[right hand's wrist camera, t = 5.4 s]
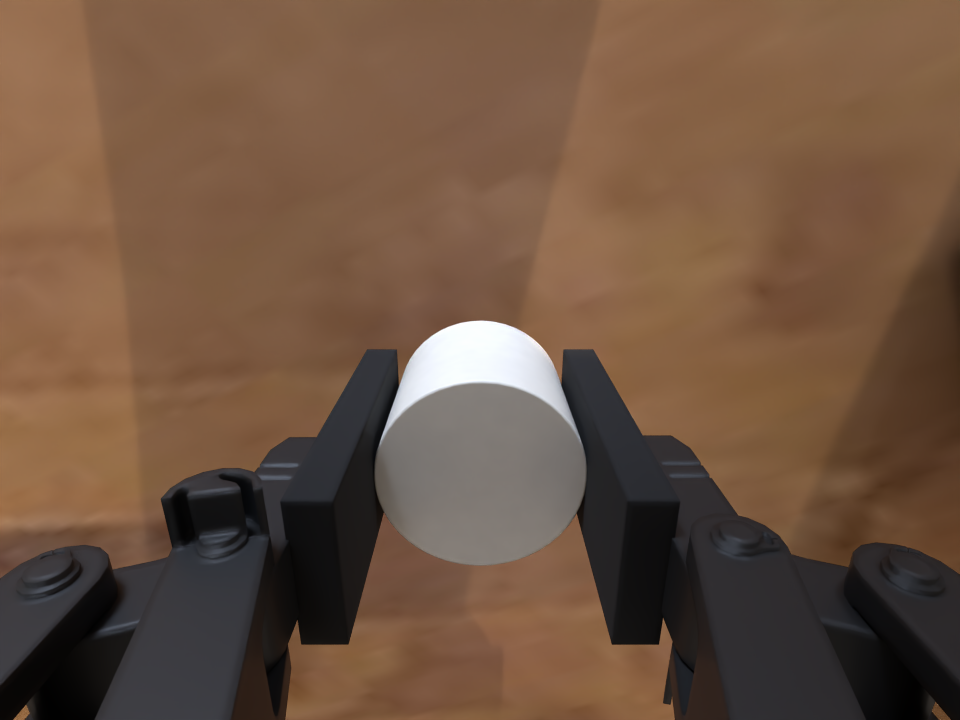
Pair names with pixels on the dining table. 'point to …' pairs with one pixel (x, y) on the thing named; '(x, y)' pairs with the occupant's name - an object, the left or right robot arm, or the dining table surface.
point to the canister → (480, 448)
